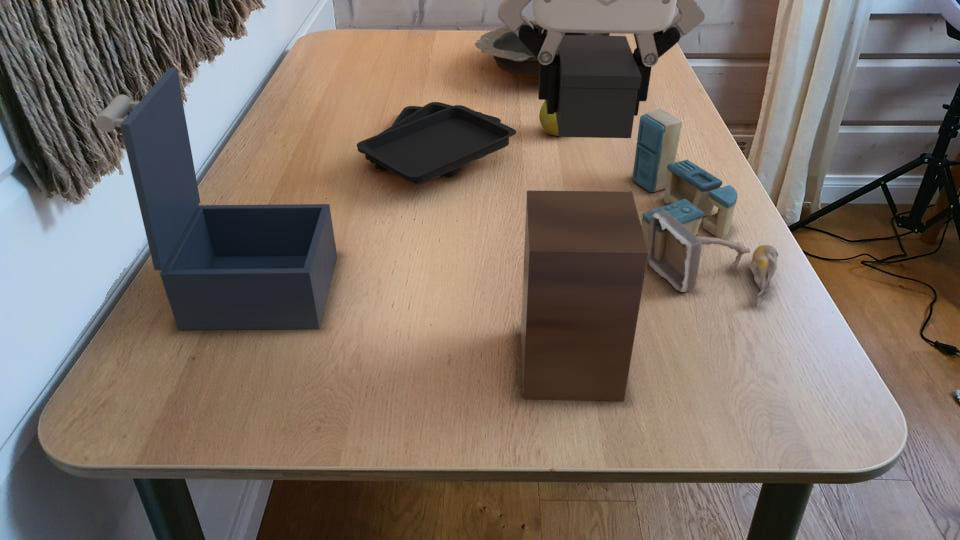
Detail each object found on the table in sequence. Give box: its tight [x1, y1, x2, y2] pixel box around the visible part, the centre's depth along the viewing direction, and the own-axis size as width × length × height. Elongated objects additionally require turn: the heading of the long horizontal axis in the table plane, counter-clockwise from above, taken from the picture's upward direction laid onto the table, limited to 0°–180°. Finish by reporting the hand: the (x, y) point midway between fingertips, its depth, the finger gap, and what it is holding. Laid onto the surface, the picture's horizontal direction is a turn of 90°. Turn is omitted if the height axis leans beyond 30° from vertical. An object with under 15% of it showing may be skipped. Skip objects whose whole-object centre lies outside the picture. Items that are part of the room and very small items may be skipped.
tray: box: [356, 101, 517, 186], centre depth 111 cm, size 30×23×5 cm
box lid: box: [94, 67, 201, 271], centre depth 77 cm, size 16×14×5 cm
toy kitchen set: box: [631, 108, 738, 260], centre depth 96 cm, size 18×14×11 cm
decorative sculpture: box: [647, 211, 779, 307], centre depth 85 cm, size 16×10×7 cm, turn 90°
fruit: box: [538, 100, 559, 137], centre depth 116 cm, size 6×6×12 cm
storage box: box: [159, 203, 338, 331], centre depth 84 cm, size 16×14×8 cm
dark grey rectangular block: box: [556, 35, 641, 139], centre depth 58 cm, size 9×6×5 cm, turn 178°
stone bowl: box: [474, 20, 611, 78], centre depth 137 cm, size 25×25×9 cm
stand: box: [520, 189, 648, 402], centre depth 71 cm, size 10×10×18 cm
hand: (590, 106), depth 59 cm, fingers closed on dark grey rectangular block, 5 cm apart
